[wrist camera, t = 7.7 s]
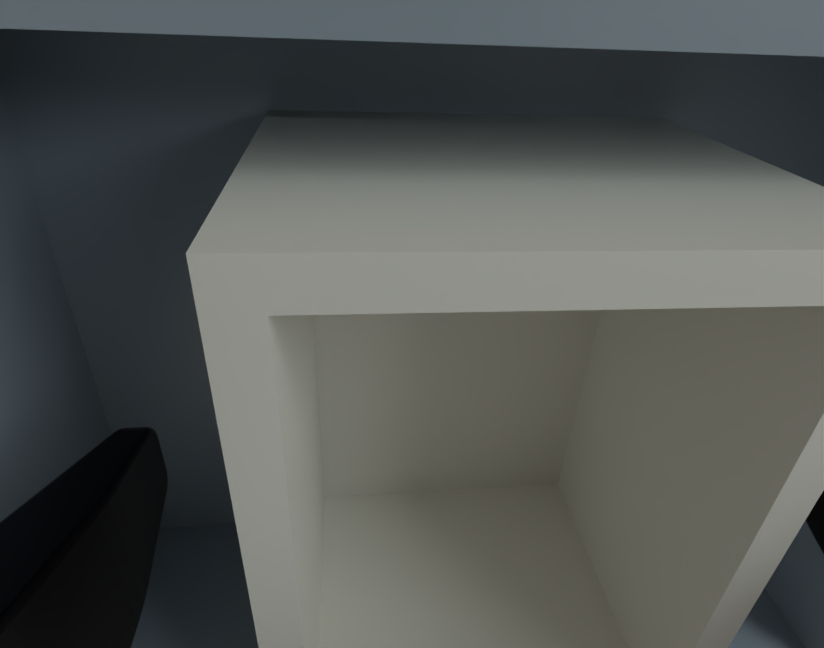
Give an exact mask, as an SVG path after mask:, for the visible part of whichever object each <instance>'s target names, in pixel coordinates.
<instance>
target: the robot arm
mask: <svg viewBox="0 0 824 648" xmlns="http://www.w3.org/2000/svg"><path fill="white" fill-rule="evenodd" d="M167 486H168V475H167V469H166V465H165V462H164V458H163V454H162V450H161V447H160V443H159V439H158V436H157V433H156V432H155V430H154V429H153V428H150V427H131V428H121V429H118V430H117V431H115V432H114V433H112V434H111V435H110V436H109V437H107V438H106V439H105V440H104V441H102V442H101V443H100V444H98V445H97V446H96V447H95V448H93V449H92V450H91V451H90V452H88V453H87V454H86V455H85V456H83V457H82V458H81V459H79V460H78V461H77V462H76V463H74V464H73V465H72V466H71V467H69V468H68V469H67V470H66V471H64V472H63V473H62V474H60V475H59V476H58V477H57V478H55V479H54V480H53V481H52V482H50V483H49V484H48V485H47V486H45V487H44V488H43V489H41V490H40V491H39V492H38V493H36V494H35V495H34V496H33V497H31V498H30V499H29V500H28V501H26V502H25V503H24V504H22V505H21V506H20V507H19V508H17V509H16V510H15V511H14V512H12V513H11V514H10V515H9V516H7V517H6V518H5V519H3V520H2V521H1V522H0V648H131V645H132V642H133V639H134V636H135V633H136V630H137V626H138V623H139V620H140V616H141V613H142V609H143V606H144V602H145V598H146V593H147V589H148V584H149V579H150V574H151V569H152V564H153V559H154V554H155V549H156V544H157V539H158V534H159V529H160V524H161V518H162V513H163V508H164V503H165V498H166V493H167ZM805 521H806V523H807V525H808V526H809V528H810V530H811V532H812V534H813V536H814V538H815V540H816V542H817V543H818V545H819V547H820V549H821V551H822V552H823V554H824V490H823V492H822V494H821V495H820V497H819V499H818V500H817V502H816V504H815V505H814V507H813V509H812V510H811V512H810V514H809V515H808V517H807V518H806V520H805Z"/></svg>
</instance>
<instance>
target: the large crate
mask: <svg viewBox="0 0 824 648" xmlns="http://www.w3.org/2000/svg"><path fill="white" fill-rule="evenodd" d="M269 110H303V111H348V112H393V113H438V114H483V115H528V116H573V117H618V118H663V119H666V120H668V121H670V122H673V123H675V124H677V125H680V126H682V127H684V128H687V129H689V130H692V131H694V132H696V133H699V134H701V135H703V136H706V137H708V138H710V139H713V140H715V141H717V142H720V143H722V144H724V145H727V146H729V147H731V148H734V149H736V150H739V151H741V152H743V153H746V154H748V155H750V156H753V157H755V158H757V159H760V160H762V161H764V162H767V163H769V164H771V165H774V166H776V167H778V168H781V169H783V170H786V171H788V172H790V173H793V174H795V175H797V176H800V177H802V178H804V179H807V180H809V181H811V182H814V183H816V184H818V185H821V186H823V187H824V0H0V522H1V521H2V520H3V519H5V518H6V517H7V516H9V515H10V514H11V513H12V512H14V511H15V510H16V509H17V508H19V507H20V506H21V505H22V504H24V503H25V502H26V501H28V500H29V499H30V498H31V497H33V496H34V495H35V494H36V493H38V492H39V491H40V490H41V489H43V488H44V487H45V486H47V485H48V484H49V483H50V482H52V481H53V480H54V479H55V478H57V477H58V476H59V475H60V474H62V473H63V472H64V471H66V470H67V469H68V468H69V467H71V466H72V465H73V464H74V463H76V462H77V461H78V460H79V459H81V458H82V457H83V456H85V455H86V454H87V453H88V452H90V451H91V450H92V449H93V448H95V447H96V446H97V445H98V444H100V443H101V442H102V441H104V440H105V439H106V438H107V437H109V436H110V435H111V434H112V433H114V432H115V431H117V430H118V429H121V428H131V427H150V428H153V429H154V430H155V432H156V433H157V436H158V439H159V443H160V447H161V450H162V454H163V458H164V462H165V465H166V469H167V475H168V486H167V493H166V498H165V503H164V508H163V513H162V518H161V524H160V529H159V534H158V539H157V544H156V549H155V554H154V559H153V564H152V569H151V574H150V579H149V584H148V589H147V593H146V598H145V602H144V606H143V609H142V613H141V616H140V620H139V623H138V626H137V630H136V633H135V636H134V639H133V642H132V645H131V648H259V647H258V642H257V636H256V631H255V625H254V620H253V614H252V609H251V604H250V598H249V593H248V587H247V582H246V577H245V571H244V566H243V560H242V555H241V550H240V544H239V539H238V533H237V528H236V523H235V517H234V512H233V506H232V501H231V495H230V490H229V485H228V479H227V474H226V468H225V463H224V458H223V452H222V447H221V441H220V436H219V431H218V425H217V420H216V414H215V409H214V404H213V398H212V393H211V387H210V382H209V376H208V371H207V366H206V360H205V355H204V349H203V344H202V339H201V333H200V328H199V322H198V317H197V312H196V306H195V301H194V295H193V290H192V285H191V279H190V274H189V268H188V263H187V258H186V252H187V250H188V249H189V247H190V245H191V243H192V242H193V240H194V238H195V237H196V235H197V233H198V231H199V230H200V228H201V226H202V225H203V223H204V221H205V219H206V218H207V216H208V214H209V212H210V211H211V209H212V207H213V206H214V204H215V202H216V200H217V199H218V197H219V195H220V194H221V192H222V190H223V188H224V187H225V185H226V183H227V181H228V180H229V178H230V176H231V175H232V173H233V171H234V169H235V168H236V166H237V164H238V163H239V161H240V159H241V157H242V156H243V154H244V152H245V150H246V149H247V147H248V145H249V144H250V142H251V140H252V138H253V137H254V135H255V133H256V132H257V130H258V128H259V126H260V125H261V123H262V121H263V119H264V118H265V116H266V114H267V113H268V111H269ZM728 648H824V554H823V552H822V551H821V549H820V547H819V545H818V543H817V542H816V540H815V538H814V536H813V534H812V532H811V530H810V528H809V526H808V525H807V523H806V521H805V522H804V523H803V525H802V527H801V528H800V530H799V532H798V533H797V535H796V537H795V538H794V540H793V542H792V543H791V545H790V546H789V548H788V550H787V551H786V553H785V555H784V556H783V558H782V560H781V561H780V563H779V565H778V566H777V568H776V570H775V571H774V573H773V574H772V576H771V578H770V579H769V581H768V583H767V584H766V586H765V588H764V589H763V591H762V593H761V594H760V596H759V598H758V599H757V601H756V603H755V604H754V606H753V607H752V609H751V611H750V612H749V614H748V616H747V617H746V619H745V621H744V622H743V624H742V626H741V627H740V629H739V631H738V632H737V634H736V635H735V637H734V639H733V640H732V642H731V644H730V645H729V647H728Z"/></svg>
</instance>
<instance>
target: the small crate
mask: <svg viewBox="0 0 824 648" xmlns="http://www.w3.org/2000/svg"><path fill="white" fill-rule="evenodd" d="M186 258H187V263H188V268H189V274H190V279H191V285H192V290H193V295H194V301H195V306H196V312H197V317H198V322H199V328H200V333H201V339H202V344H203V349H204V355H205V360H206V366H207V371H208V376H209V382H210V387H211V393H212V398H213V404H214V409H215V414H216V420H217V425H218V431H219V436H220V441H221V447H222V452H223V458H224V463H225V468H226V474H227V479H228V485H229V490H230V495H231V501H232V506H233V512H234V517H235V523H236V528H237V533H238V539H239V544H240V550H241V555H242V560H243V566H244V571H245V577H246V582H247V587H248V593H249V598H250V604H251V609H252V614H253V620H254V625H255V631H256V636H257V642H258V647H259V648H728V647H729V645H730V644H731V642H732V640H733V639H734V637H735V635H736V634H737V632H738V631H739V629H740V627H741V626H742V624H743V622H744V621H745V619H746V617H747V616H748V614H749V612H750V611H751V609H752V607H753V606H754V604H755V603H756V601H757V599H758V598H759V596H760V594H761V593H762V591H763V589H764V588H765V586H766V584H767V583H768V581H769V579H770V578H771V576H772V574H773V573H774V571H775V570H776V568H777V566H778V565H779V563H780V561H781V560H782V558H783V556H784V555H785V553H786V551H787V550H788V548H789V546H790V545H791V543H792V542H793V540H794V538H795V537H796V535H797V533H798V532H799V530H800V528H801V527H802V525H803V523H804V522H805V520H806V518H807V517H808V515H809V514H810V512H811V510H812V509H813V507H814V505H815V504H816V502H817V500H818V499H819V497H820V495H821V494H822V492H823V490H824V187H823V186H821V185H818V184H816V183H814V182H811V181H809V180H807V179H804V178H802V177H800V176H797V175H795V174H793V173H790V172H788V171H786V170H783V169H781V168H778V167H776V166H774V165H771V164H769V163H767V162H764V161H762V160H760V159H757V158H755V157H753V156H750V155H748V154H746V153H743V152H741V151H739V150H736V149H734V148H731V147H729V146H727V145H724V144H722V143H720V142H717V141H715V140H713V139H710V138H708V137H706V136H703V135H701V134H699V133H696V132H694V131H692V130H689V129H687V128H684V127H682V126H680V125H677V124H675V123H673V122H670V121H668V120H666V119H663V118H618V117H573V116H528V115H483V114H438V113H393V112H348V111H303V110H269V111H268V113H267V114H266V116H265V118H264V119H263V121H262V123H261V125H260V126H259V128H258V130H257V132H256V133H255V135H254V137H253V138H252V140H251V142H250V144H249V145H248V147H247V149H246V150H245V152H244V154H243V156H242V157H241V159H240V161H239V163H238V164H237V166H236V168H235V169H234V171H233V173H232V175H231V176H230V178H229V180H228V181H227V183H226V185H225V187H224V188H223V190H222V192H221V194H220V195H219V197H218V199H217V200H216V202H215V204H214V206H213V207H212V209H211V211H210V212H209V214H208V216H207V218H206V219H205V221H204V223H203V225H202V226H201V228H200V230H199V231H198V233H197V235H196V237H195V238H194V240H193V242H192V243H191V245H190V247H189V249H188V250H187V252H186Z"/></svg>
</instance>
